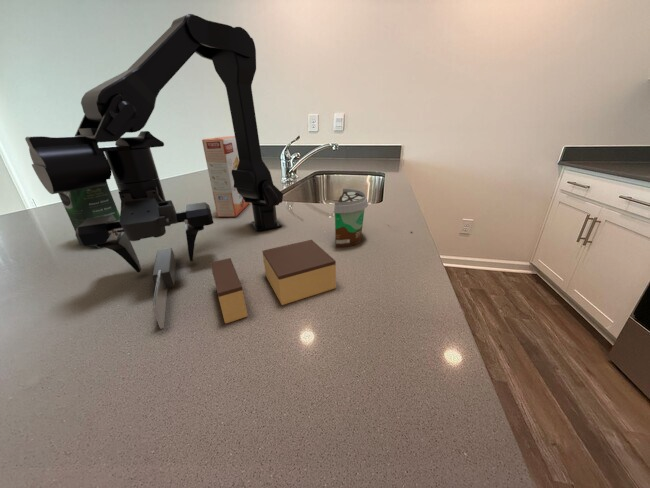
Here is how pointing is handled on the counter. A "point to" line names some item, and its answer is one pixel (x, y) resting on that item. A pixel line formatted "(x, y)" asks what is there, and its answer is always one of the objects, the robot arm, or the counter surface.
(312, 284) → the cake
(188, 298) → the counter surface
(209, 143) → the cracker box
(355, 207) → the food container
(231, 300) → the cake slice
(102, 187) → the coffee jar
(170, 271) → the knife
